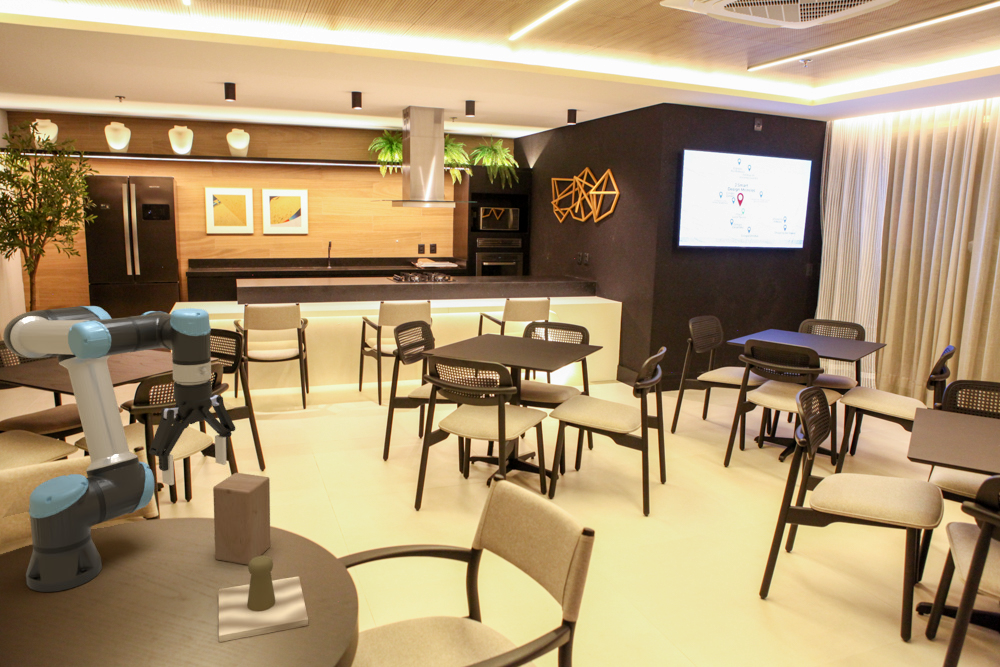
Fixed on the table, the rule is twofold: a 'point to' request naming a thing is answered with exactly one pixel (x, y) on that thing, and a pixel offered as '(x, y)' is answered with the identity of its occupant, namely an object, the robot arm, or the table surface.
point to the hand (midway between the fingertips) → (195, 473)
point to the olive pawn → (261, 584)
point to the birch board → (250, 623)
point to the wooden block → (241, 517)
